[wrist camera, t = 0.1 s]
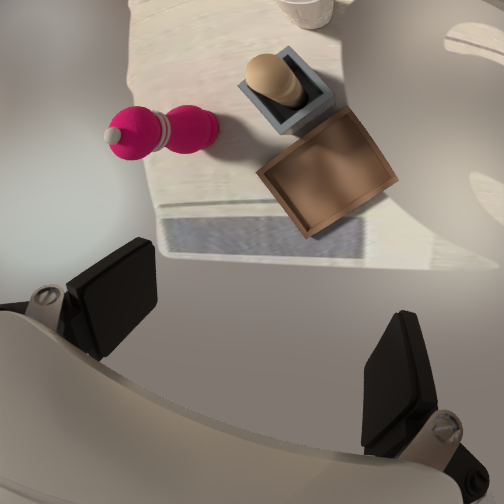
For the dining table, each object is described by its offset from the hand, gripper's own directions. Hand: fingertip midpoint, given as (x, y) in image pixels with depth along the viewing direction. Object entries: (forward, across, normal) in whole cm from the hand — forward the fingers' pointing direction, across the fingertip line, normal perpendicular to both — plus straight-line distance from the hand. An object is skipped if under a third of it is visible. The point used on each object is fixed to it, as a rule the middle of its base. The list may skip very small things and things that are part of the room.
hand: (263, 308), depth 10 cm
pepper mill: (+31, +19, -4) cm, 37 cm away
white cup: (+31, +5, -25) cm, 41 cm away
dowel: (+30, +5, -10) cm, 32 cm away
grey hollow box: (+31, +5, -10) cm, 33 cm away
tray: (+31, -1, -1) cm, 31 cm away
